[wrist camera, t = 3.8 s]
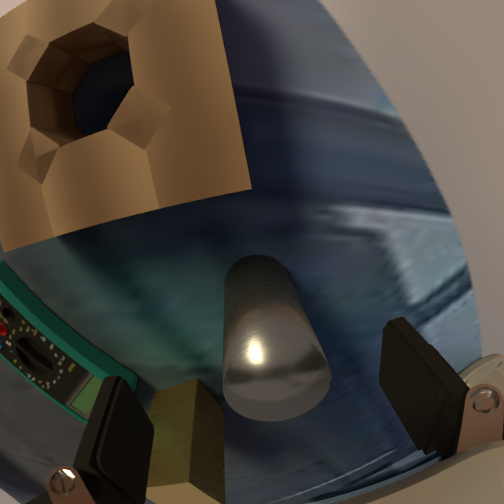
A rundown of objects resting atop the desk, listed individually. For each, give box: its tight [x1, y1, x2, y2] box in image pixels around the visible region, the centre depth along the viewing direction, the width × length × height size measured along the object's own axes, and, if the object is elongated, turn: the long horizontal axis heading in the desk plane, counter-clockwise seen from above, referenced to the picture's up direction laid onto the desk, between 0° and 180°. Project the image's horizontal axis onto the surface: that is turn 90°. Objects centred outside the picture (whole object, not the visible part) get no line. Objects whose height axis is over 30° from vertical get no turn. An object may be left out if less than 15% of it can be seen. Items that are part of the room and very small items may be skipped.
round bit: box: [223, 255, 332, 422], centre depth 15 cm, size 4×4×9 cm
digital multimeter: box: [0, 260, 138, 425], centre depth 19 cm, size 7×15×3 cm, turn 47°
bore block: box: [0, 0, 252, 253], centre depth 12 cm, size 13×13×5 cm
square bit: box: [146, 379, 225, 504], centre depth 18 cm, size 4×4×9 cm
